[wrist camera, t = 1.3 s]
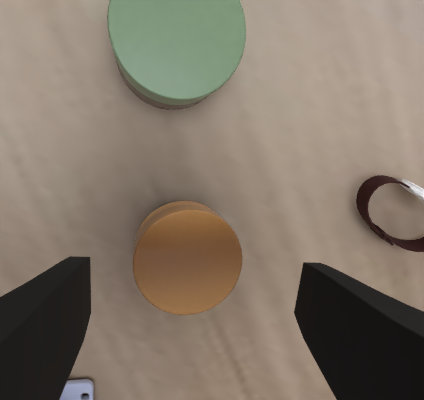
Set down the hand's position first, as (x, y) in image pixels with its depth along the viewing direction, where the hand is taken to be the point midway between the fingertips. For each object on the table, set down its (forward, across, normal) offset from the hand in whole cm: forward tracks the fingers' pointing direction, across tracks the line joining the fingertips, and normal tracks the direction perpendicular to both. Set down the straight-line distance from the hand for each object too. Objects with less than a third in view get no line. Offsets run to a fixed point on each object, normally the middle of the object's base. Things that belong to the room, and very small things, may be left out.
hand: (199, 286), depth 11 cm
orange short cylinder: (+7, 0, +2) cm, 8 cm away
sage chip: (+10, +1, -9) cm, 13 cm away
